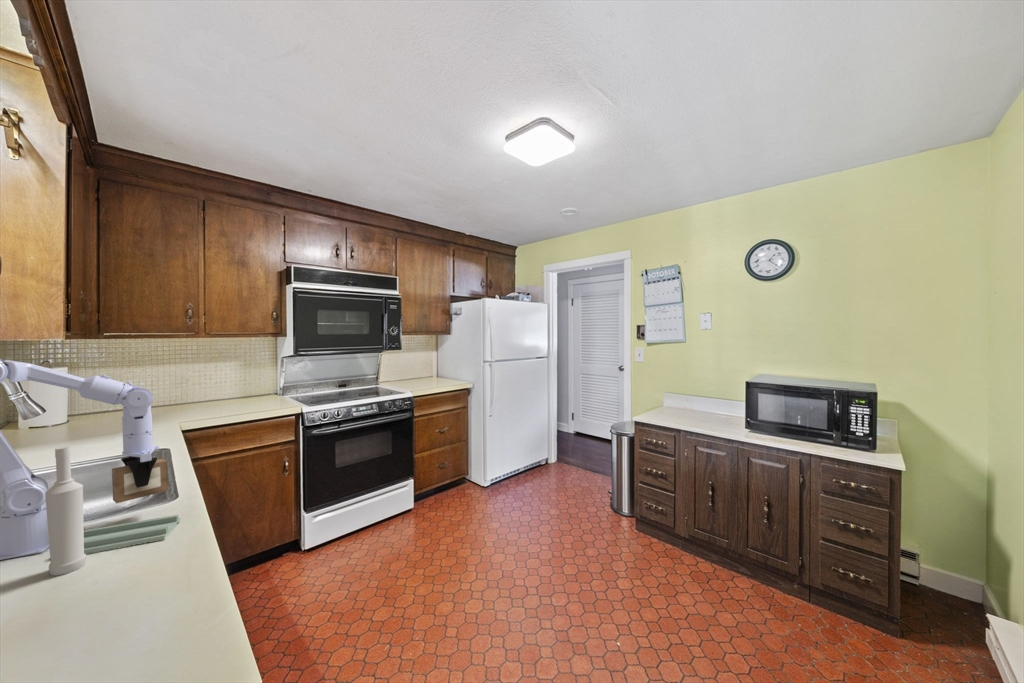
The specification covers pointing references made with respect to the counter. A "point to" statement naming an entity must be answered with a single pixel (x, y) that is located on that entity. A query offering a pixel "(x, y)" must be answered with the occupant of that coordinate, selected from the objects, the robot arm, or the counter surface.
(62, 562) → the bottle
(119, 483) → the picture frame
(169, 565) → the counter surface
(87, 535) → the picture ledge
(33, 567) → the counter surface
